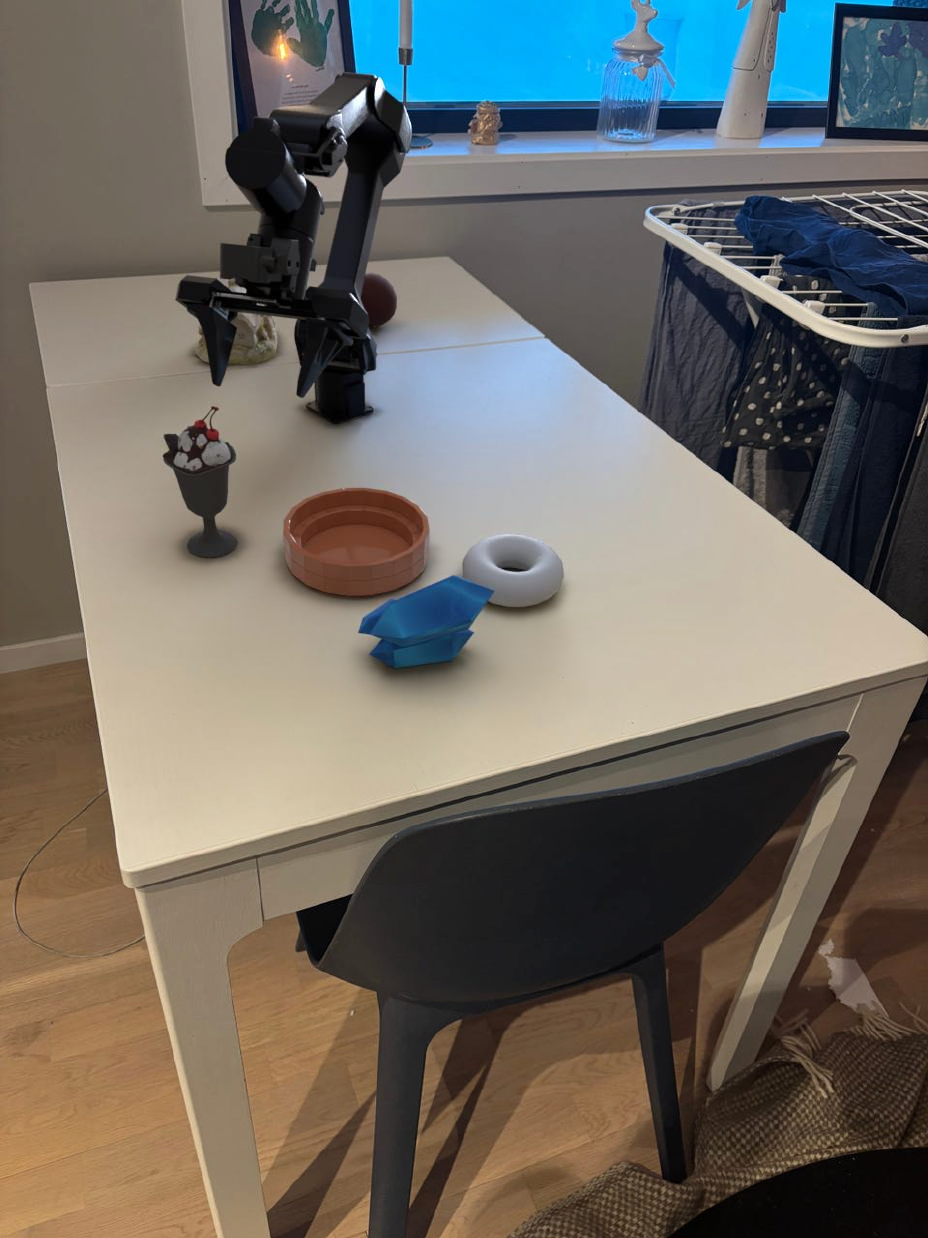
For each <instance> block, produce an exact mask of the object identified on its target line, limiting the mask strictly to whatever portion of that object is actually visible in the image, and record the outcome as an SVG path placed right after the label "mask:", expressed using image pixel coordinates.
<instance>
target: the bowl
mask: <svg viewBox="0 0 928 1238" xmlns="http://www.w3.org/2000/svg"><path fill="white" fill-rule="evenodd" d="M422 509H423V508H421V507H420V505H418V504H417V503H415V502H414V501H412V500H410V499H409V498H407V497H406V496H403V495H400V494H397V493H394V492H391V491H388V490H384V489H377V488H370V487H342V488H337V489H331V490H326V491H325V490H324V491H321V492H319V493H316V494H314V495H311V496H307V497H306V498H304V499H302V500H301V501H299V502H298V503H297V504H295V505H294V506H292V507H291V508H290V510H289V511H288V512H287V514H286V516H285V517H284V519H283V527H282V529H283V530H282V535H283V549H284V559H285V560H284V562H285V563H286V565H287V567H288V569H289V570H290V573H291V574H292V575H293V576H294V577H296V579H298V580H299V581H300V582H302V583H303V584H304V585H306V586H308V587H311V588H313V589H316V590H318V591H320V592H323V593H328V594H334V595H341V596H348V597H353V596H354V597H357V596H374V595H378V594H382V593H387V592H392V591H395V590H397V589H399V588H402V587H404V586H405V585H408V584H409V583H412V582H413V581H414V580H415V579H416V578H417V577H418V576H419V575H421V574H422V573H423V571H425V568H426V566H427V563H428V561H429V558H430V557H429V556H430V531H431V529H430V523H429V522H430V521H429V518H428V516H427V515H426V513H425V512H424V511H423V510H422Z"/></svg>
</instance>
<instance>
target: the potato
mask: <svg viewBox="0 0 928 1238" xmlns="http://www.w3.org/2000/svg"><path fill="white" fill-rule="evenodd" d="M395 290H396V289H395V288H394V286H393V284H392V283H391V282H390V281H389V280H388V279H387V278H385V277H383V276H382V275H381V274H378V273H374V272H366V273H365V278H364V282H363V287H362V292H361V297H360V299H361V302H362V304H363V307H364V309H365V311H366V312H367V314H368V317H369V325H368V328H376V327H380V326H383V325H385V324H386V323H388V322H389V321H391V320H392V318H393V317H394V316H395V314H396V311H397V308H398V295H397V292H396V291H395Z"/></svg>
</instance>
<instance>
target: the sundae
mask: <svg viewBox="0 0 928 1238" xmlns="http://www.w3.org/2000/svg"><path fill="white" fill-rule="evenodd" d="M212 411H213V412H212ZM218 411H220V408H219V407H217V406H215V405H212V406H211V407H210V410H209V411H208V412H207V414H206V415H205V416H204V417H202V419H198V420H195V421H194V422H193V423H194V424H193V425H189V426H188V425H187V427H186V428H184V429H183V431H181V432H180V434H179V435H178V434H176V433H164V434H163V439H164V441H165V444H166V446H167V448H168V450H167V451H166V452H164V453H163V455H162V459H163V462H164V464H166V466H168V467H169V468H171V469H172V470H173V473H174V476H175V479H176V482H177V484H178V488H179V490H180V494H181V497H182V500H183V501H184V504H185V507H186V508H187V510H188V511H190V512H191V513H193V514H194V515H196V516H198V517H201V518H202V525H203V531H200V532H197V534H194V535H193V536H191V537H190V538H189V540H188V541H187V545H186V547H187V550H188V551H189V552H190V553H191V554H193V556H197V557H198V558H207V559H212V558H219V557H224V556H225V555H228V554H229V553H230V554H231V552H233V550H235V549H236V547H237V545H238V538H237V537H236V536H235V535H234V534H232V533H231V532H230V531H227V530H223V529H218V527H217V523H216V516H217V515H218V514H220V513H221V512H222V511H223V510H224V509H225V508H226V506H227V504H228V496H229V471H230V465H233V464H234V463H236V460H237V453H236V450H235V448H234V446H232V445H231V444H230V443H229V442H228V441H224V440H223V439H222V438H221V437H220V432H219V430H218V429H216V428H214V427H213V425H212V418H213V416H214V415H215V414H216V413H217V412H218ZM210 413H211V416H210V417H209V421H208V422H209V423H208V424H207V422H206V421H205V420H206V418H207V417H208V416H209V415H210ZM208 425H209V428H208Z"/></svg>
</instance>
